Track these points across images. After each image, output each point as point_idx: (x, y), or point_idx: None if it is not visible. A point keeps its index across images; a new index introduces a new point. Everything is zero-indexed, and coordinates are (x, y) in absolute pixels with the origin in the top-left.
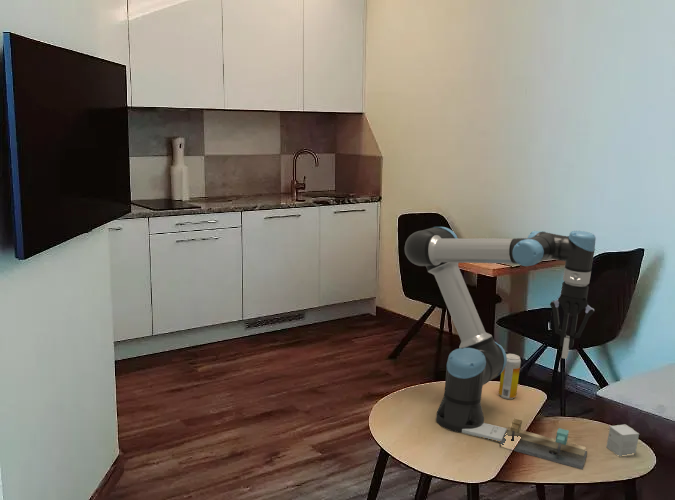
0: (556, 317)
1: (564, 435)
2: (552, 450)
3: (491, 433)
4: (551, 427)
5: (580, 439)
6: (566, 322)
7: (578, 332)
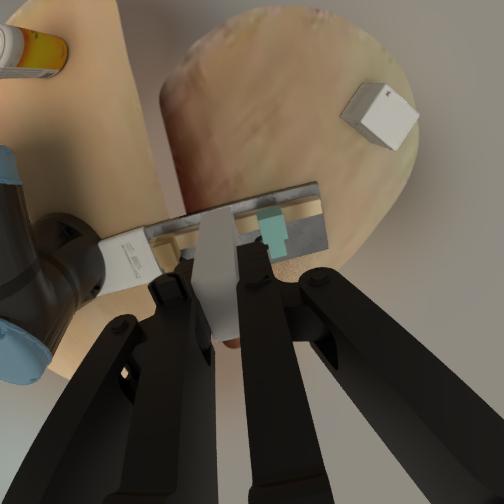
0: (108, 488)
1: (281, 238)
2: (259, 236)
3: (137, 274)
4: (202, 115)
5: (281, 121)
6: (211, 457)
7: (333, 363)
